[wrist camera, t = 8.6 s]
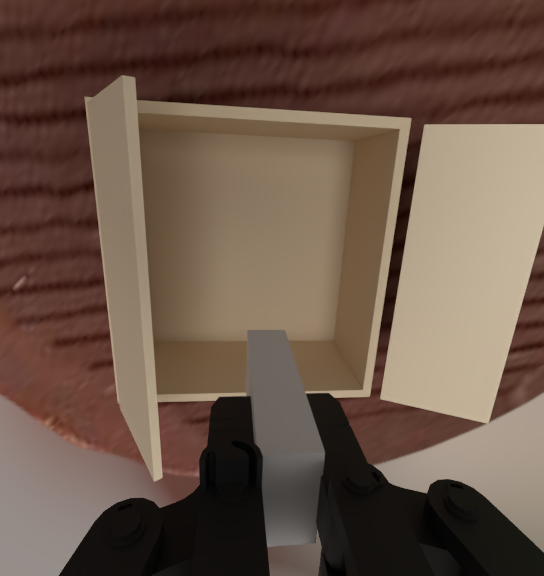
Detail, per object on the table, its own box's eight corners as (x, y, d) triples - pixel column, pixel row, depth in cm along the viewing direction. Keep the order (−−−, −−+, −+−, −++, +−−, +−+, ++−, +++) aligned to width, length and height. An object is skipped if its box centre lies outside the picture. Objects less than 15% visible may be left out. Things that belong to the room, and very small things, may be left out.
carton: (131, 120, 31) (84, 96, 21) (361, 134, 33) (411, 118, 24) (147, 346, 38) (118, 405, 28) (337, 345, 40) (369, 398, 30)
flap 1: (87, 102, 20) (122, 75, 14) (96, 103, 20) (135, 77, 14) (120, 408, 27) (154, 481, 20) (127, 406, 27) (162, 477, 21)
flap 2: (424, 124, 23) (571, 124, 20) (424, 125, 23) (568, 125, 21) (380, 399, 29) (488, 423, 27) (380, 395, 30) (486, 419, 27)
